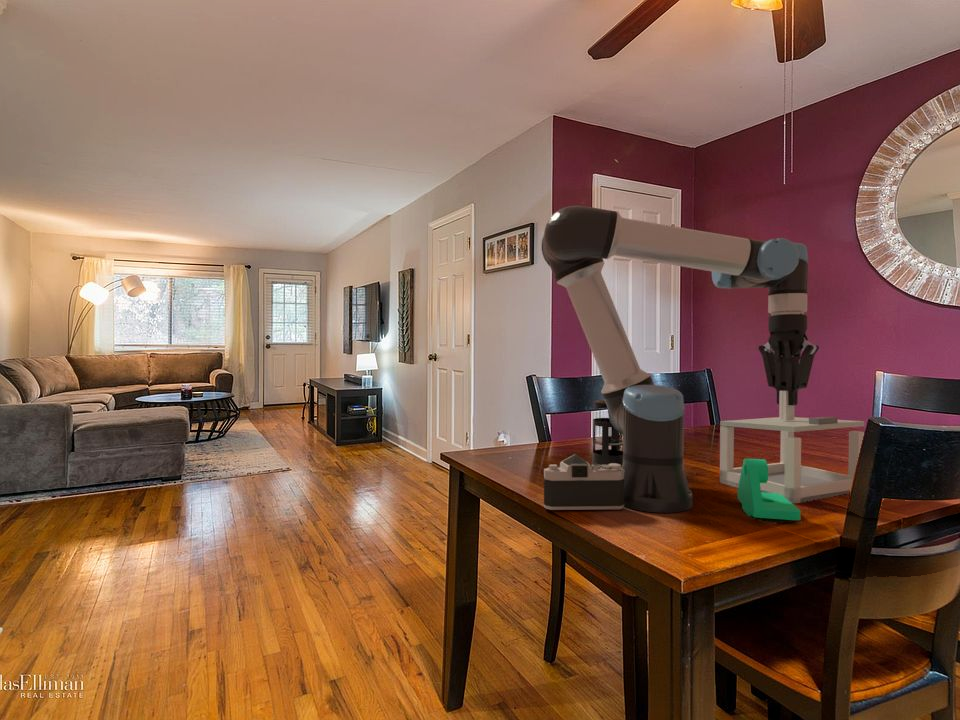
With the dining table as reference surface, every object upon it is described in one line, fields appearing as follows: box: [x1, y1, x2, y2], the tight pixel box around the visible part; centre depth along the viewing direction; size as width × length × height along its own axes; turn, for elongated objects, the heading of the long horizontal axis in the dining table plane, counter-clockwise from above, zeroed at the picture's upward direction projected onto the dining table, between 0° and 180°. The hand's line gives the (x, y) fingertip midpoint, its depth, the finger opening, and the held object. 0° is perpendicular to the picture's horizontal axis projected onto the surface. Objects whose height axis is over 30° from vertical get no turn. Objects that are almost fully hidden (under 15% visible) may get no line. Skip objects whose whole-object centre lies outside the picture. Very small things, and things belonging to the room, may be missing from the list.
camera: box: [543, 453, 625, 511], centre depth 102 cm, size 16×9×10 cm, turn 92°
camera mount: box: [736, 458, 802, 521], centre depth 96 cm, size 12×8×10 cm, turn 166°
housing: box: [719, 425, 865, 505], centre depth 115 cm, size 22×18×13 cm
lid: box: [719, 416, 866, 433], centre depth 115 cm, size 22×18×2 cm
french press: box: [591, 379, 623, 467], centre depth 138 cm, size 12×9×23 cm
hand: (786, 419), depth 116 cm, fingers closed
